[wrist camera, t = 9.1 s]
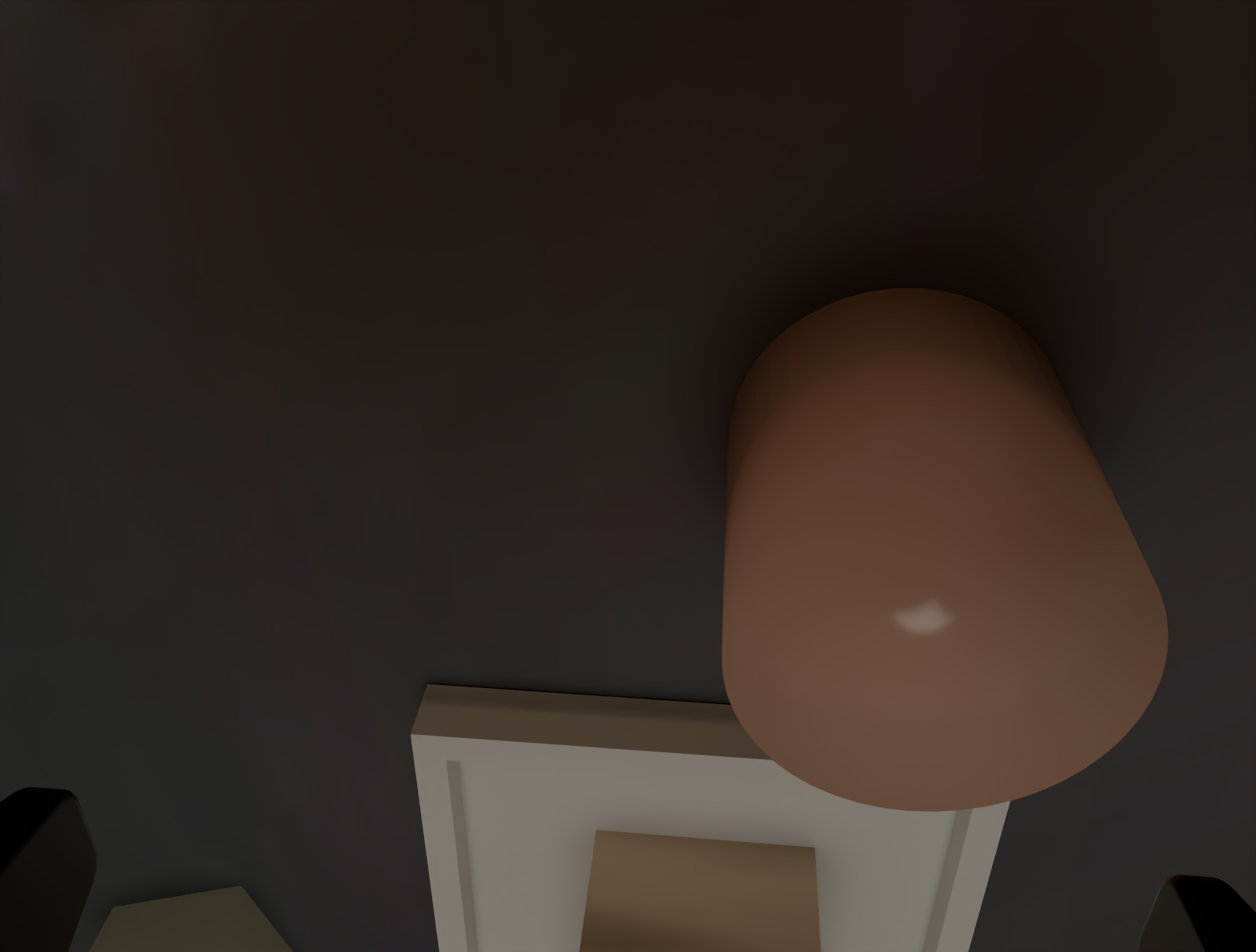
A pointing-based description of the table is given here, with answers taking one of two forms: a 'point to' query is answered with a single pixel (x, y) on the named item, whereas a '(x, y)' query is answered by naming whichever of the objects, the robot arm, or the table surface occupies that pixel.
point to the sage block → (191, 925)
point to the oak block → (699, 896)
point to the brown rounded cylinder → (927, 561)
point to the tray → (662, 820)
